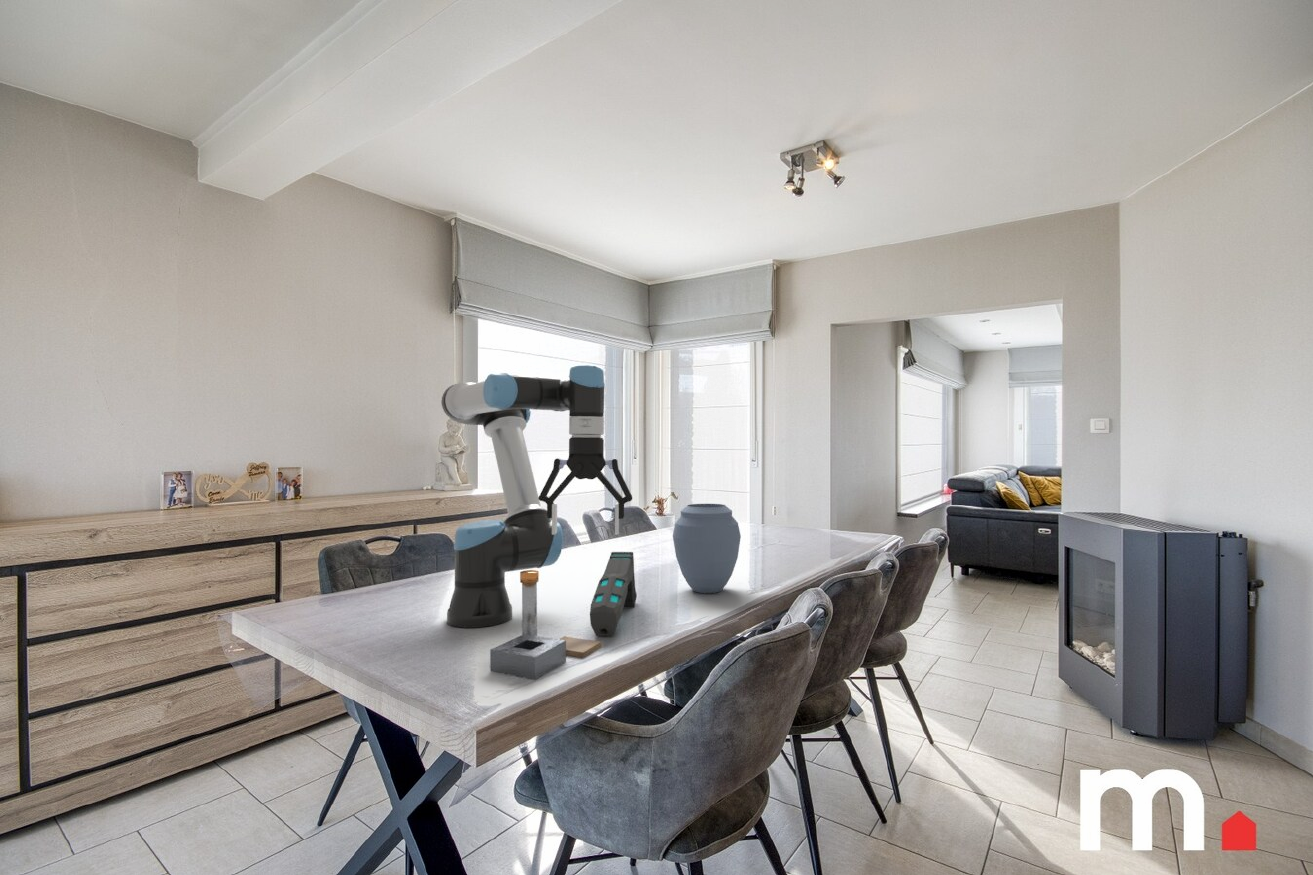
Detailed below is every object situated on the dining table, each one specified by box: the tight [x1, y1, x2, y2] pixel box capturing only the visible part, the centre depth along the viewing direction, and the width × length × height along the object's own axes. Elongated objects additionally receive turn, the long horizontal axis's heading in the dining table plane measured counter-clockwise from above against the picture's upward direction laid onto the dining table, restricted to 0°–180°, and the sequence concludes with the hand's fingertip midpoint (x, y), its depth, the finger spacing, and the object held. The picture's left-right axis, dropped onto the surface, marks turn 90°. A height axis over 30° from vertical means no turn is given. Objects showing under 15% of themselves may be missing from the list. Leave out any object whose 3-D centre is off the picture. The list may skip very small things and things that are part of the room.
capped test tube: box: [519, 569, 540, 636], centre depth 126 cm, size 4×4×15 cm
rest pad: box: [559, 635, 602, 658], centre depth 122 cm, size 9×7×1 cm
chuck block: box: [489, 634, 567, 681], centre depth 112 cm, size 10×10×4 cm
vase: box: [672, 503, 742, 594], centre depth 171 cm, size 20×20×24 cm
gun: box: [589, 551, 637, 638], centre depth 143 cm, size 7×29×15 cm, turn 174°
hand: (585, 533), depth 130 cm, fingers open, 13 cm apart
